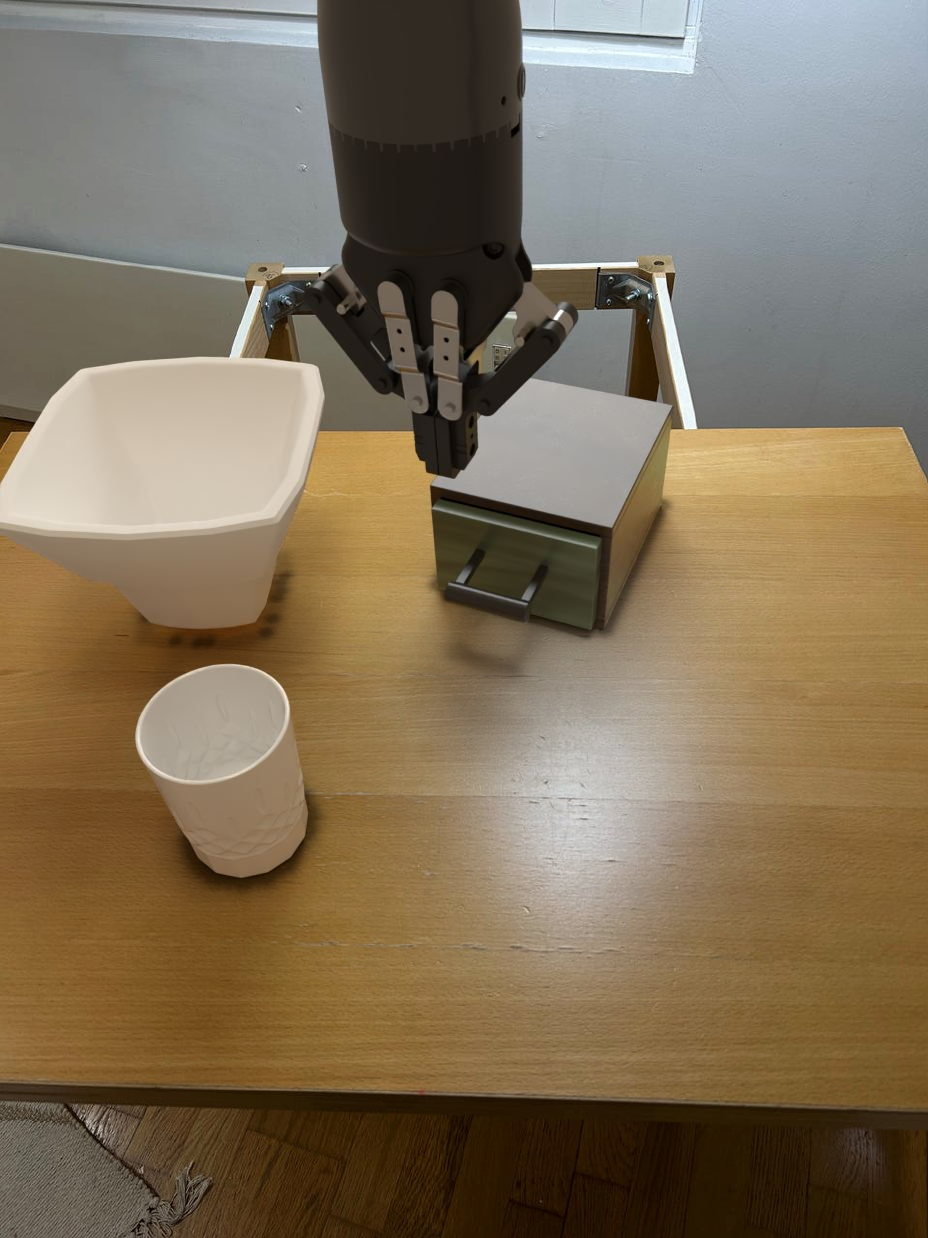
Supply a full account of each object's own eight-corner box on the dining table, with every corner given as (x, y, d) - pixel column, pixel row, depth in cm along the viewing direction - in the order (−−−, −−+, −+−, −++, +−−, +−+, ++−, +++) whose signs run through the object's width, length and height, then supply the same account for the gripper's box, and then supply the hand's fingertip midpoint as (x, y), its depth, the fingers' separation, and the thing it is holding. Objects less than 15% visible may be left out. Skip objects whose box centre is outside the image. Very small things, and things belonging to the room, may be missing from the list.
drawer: (567, 681, 63) (571, 600, 58) (407, 635, 67) (398, 555, 62) (646, 511, 75) (655, 431, 70) (507, 479, 78) (506, 401, 73)
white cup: (235, 755, 61) (197, 646, 54) (343, 799, 59) (318, 690, 52) (155, 856, 56) (102, 751, 49) (269, 909, 54) (230, 806, 47)
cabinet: (604, 630, 68) (612, 528, 61) (437, 585, 71) (429, 485, 65) (661, 504, 77) (674, 404, 70) (511, 470, 81) (510, 373, 74)
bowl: (357, 509, 78) (334, 352, 68) (326, 696, 64) (291, 534, 54) (127, 512, 79) (70, 357, 69) (47, 697, 65) (-37, 538, 55)
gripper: (224, 115, 37) (298, 482, 50) (554, 154, 33) (545, 543, 45) (320, 55, 42) (366, 403, 54) (620, 83, 38) (596, 452, 50)
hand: (448, 467), depth 50 cm, fingers closed
